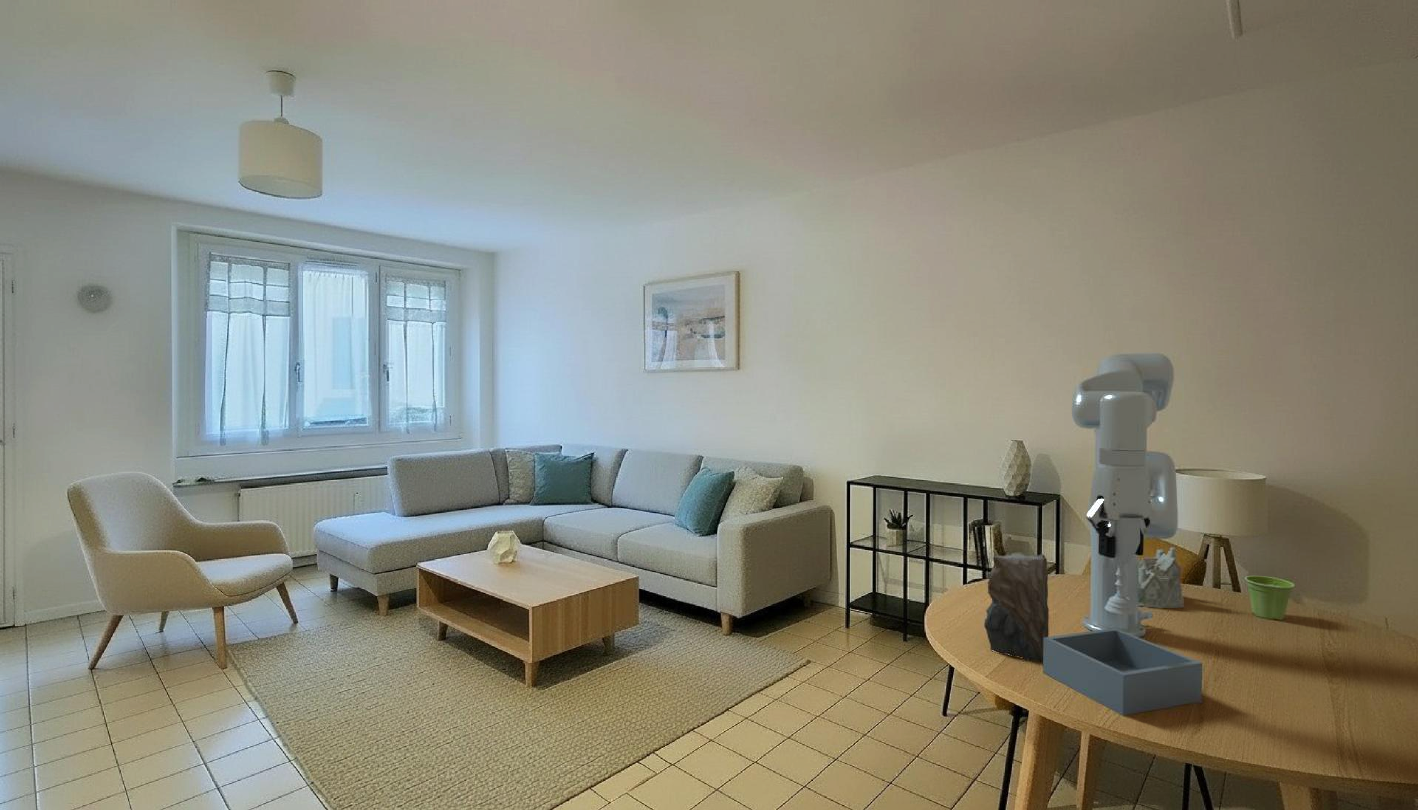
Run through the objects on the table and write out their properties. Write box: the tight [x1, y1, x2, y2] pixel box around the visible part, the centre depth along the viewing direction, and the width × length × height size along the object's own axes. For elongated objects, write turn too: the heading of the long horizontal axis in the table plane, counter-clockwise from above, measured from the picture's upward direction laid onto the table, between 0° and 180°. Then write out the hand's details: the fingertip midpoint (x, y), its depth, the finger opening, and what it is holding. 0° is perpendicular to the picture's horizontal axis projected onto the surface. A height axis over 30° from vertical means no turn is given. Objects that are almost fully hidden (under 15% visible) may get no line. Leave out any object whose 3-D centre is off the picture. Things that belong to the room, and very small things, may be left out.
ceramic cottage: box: [1138, 547, 1186, 609], centre depth 179 cm, size 16×16×15 cm
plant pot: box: [1244, 575, 1295, 621], centre depth 165 cm, size 9×9×9 cm
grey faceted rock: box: [983, 551, 1050, 663], centre depth 145 cm, size 13×13×20 cm
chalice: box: [1104, 515, 1144, 615], centre depth 126 cm, size 7×7×18 cm
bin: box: [1042, 628, 1203, 716], centre depth 127 cm, size 18×18×7 cm
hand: (1120, 554), depth 126 cm, fingers closed on chalice, 5 cm apart
